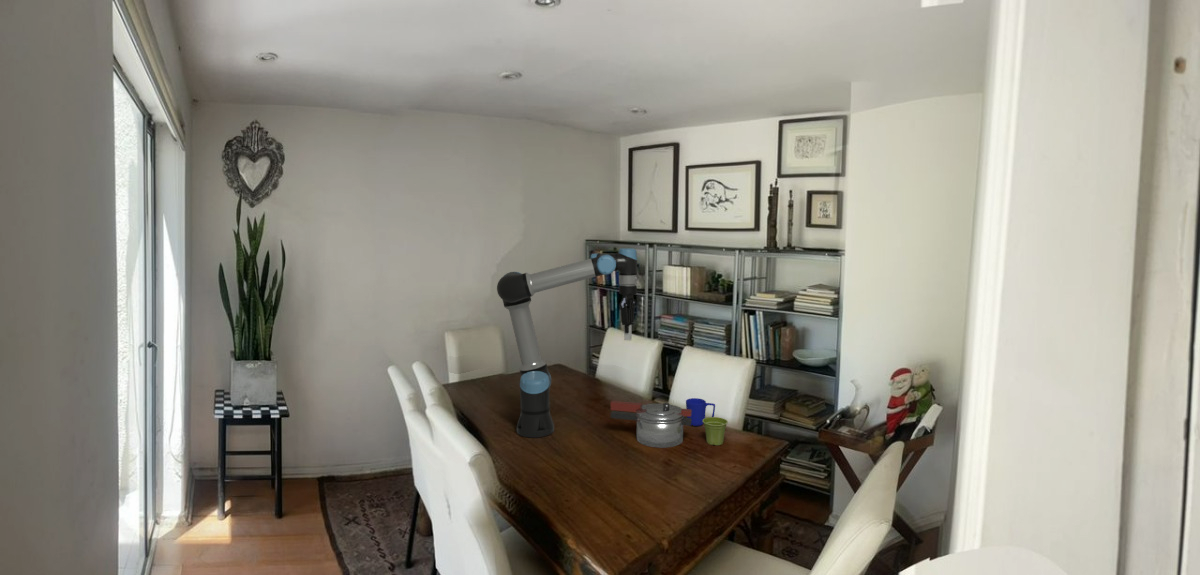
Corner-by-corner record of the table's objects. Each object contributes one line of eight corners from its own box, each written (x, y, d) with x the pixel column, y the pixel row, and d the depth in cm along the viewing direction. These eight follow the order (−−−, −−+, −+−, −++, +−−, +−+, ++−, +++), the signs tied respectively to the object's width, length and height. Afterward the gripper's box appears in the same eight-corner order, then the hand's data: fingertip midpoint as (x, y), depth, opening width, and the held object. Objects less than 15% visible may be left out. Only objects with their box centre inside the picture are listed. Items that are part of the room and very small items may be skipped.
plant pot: (712, 449, 214) (713, 426, 214) (697, 441, 223) (697, 419, 222) (732, 444, 219) (732, 422, 218) (716, 436, 227) (716, 415, 226)
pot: (605, 442, 222) (605, 416, 221) (617, 426, 240) (617, 402, 238) (687, 451, 213) (687, 424, 212) (694, 433, 230) (694, 409, 229)
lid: (605, 416, 221) (605, 406, 220) (617, 402, 238) (617, 392, 238) (687, 424, 212) (687, 413, 211) (694, 408, 229) (694, 398, 229)
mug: (714, 428, 236) (715, 405, 235) (685, 426, 238) (685, 403, 237) (714, 422, 244) (715, 399, 243) (686, 420, 246) (686, 397, 245)
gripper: (630, 286, 236) (630, 343, 238) (641, 283, 247) (641, 337, 250) (613, 286, 239) (613, 342, 241) (625, 283, 250) (625, 336, 253)
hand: (627, 339), depth 246 cm, fingers closed
